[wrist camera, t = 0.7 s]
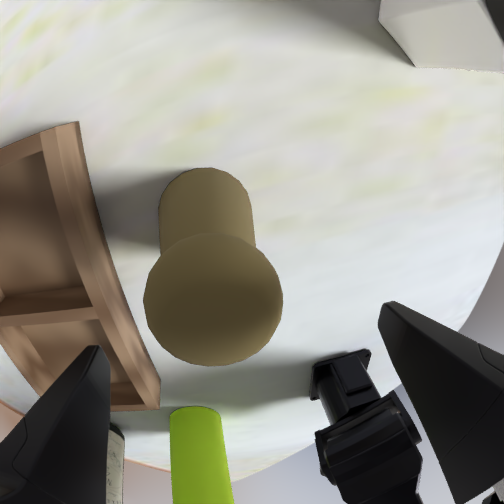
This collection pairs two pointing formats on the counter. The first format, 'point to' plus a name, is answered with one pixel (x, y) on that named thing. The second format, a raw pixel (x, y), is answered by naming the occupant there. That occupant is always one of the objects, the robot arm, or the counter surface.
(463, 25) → the jar
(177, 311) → the cork
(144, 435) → the counter surface
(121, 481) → the wine bottle
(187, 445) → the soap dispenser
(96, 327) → the holder
